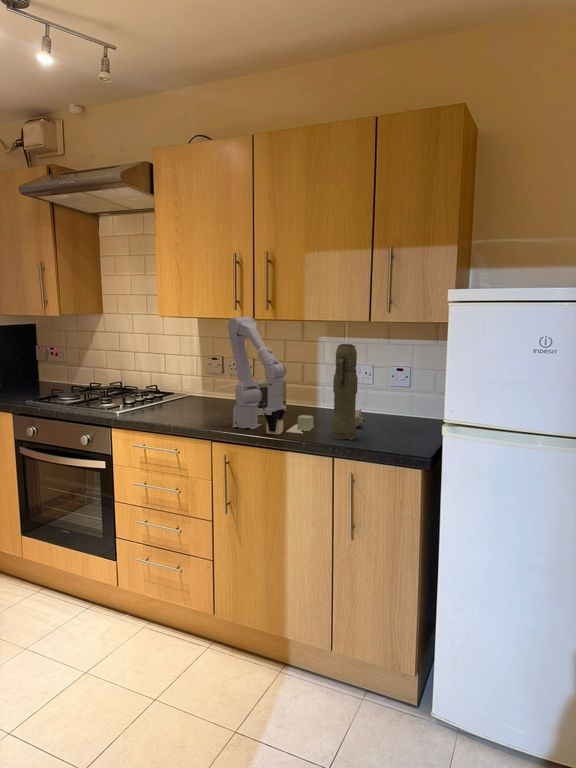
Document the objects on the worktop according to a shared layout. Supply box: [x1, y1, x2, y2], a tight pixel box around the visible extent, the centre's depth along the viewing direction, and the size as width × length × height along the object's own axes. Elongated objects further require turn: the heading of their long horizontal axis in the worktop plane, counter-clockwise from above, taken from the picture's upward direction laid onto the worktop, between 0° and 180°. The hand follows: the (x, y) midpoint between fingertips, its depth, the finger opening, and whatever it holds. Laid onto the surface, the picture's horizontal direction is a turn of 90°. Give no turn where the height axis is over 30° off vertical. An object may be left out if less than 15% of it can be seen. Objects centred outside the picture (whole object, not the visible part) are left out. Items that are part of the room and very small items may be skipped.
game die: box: [355, 408, 366, 428], centre depth 217 cm, size 9×8×10 cm
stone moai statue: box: [331, 343, 359, 439], centre depth 198 cm, size 9×12×35 cm
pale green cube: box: [297, 414, 314, 431], centre depth 212 cm, size 5×5×5 cm
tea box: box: [246, 379, 287, 417], centre depth 243 cm, size 15×10×15 cm, turn 126°
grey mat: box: [285, 423, 303, 434], centre depth 212 cm, size 12×14×1 cm
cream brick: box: [265, 419, 284, 435], centre depth 206 cm, size 5×5×5 cm
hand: (274, 429), depth 206 cm, fingers closed on cream brick, 5 cm apart
